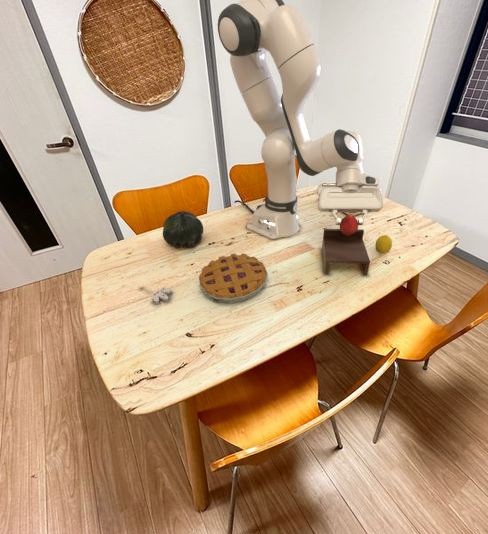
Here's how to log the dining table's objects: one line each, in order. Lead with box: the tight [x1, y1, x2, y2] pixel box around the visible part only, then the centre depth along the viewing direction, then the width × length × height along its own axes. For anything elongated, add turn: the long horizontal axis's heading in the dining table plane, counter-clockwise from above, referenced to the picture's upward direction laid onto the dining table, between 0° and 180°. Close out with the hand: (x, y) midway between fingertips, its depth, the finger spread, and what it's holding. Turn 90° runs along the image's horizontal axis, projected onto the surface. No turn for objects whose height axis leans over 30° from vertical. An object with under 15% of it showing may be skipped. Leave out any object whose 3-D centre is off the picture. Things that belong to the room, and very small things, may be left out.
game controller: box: [140, 287, 171, 305], centre depth 86 cm, size 6×12×3 cm, turn 79°
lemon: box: [374, 234, 393, 255], centre depth 100 cm, size 6×6×8 cm
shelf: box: [321, 228, 371, 277], centre depth 96 cm, size 15×14×9 cm
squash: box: [162, 210, 204, 249], centre depth 106 cm, size 14×15×15 cm
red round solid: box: [339, 213, 359, 236], centre depth 89 cm, size 6×6×8 cm
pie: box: [198, 253, 269, 304], centre depth 89 cm, size 22×22×5 cm
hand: (349, 224), depth 89 cm, fingers closed on red round solid, 6 cm apart
